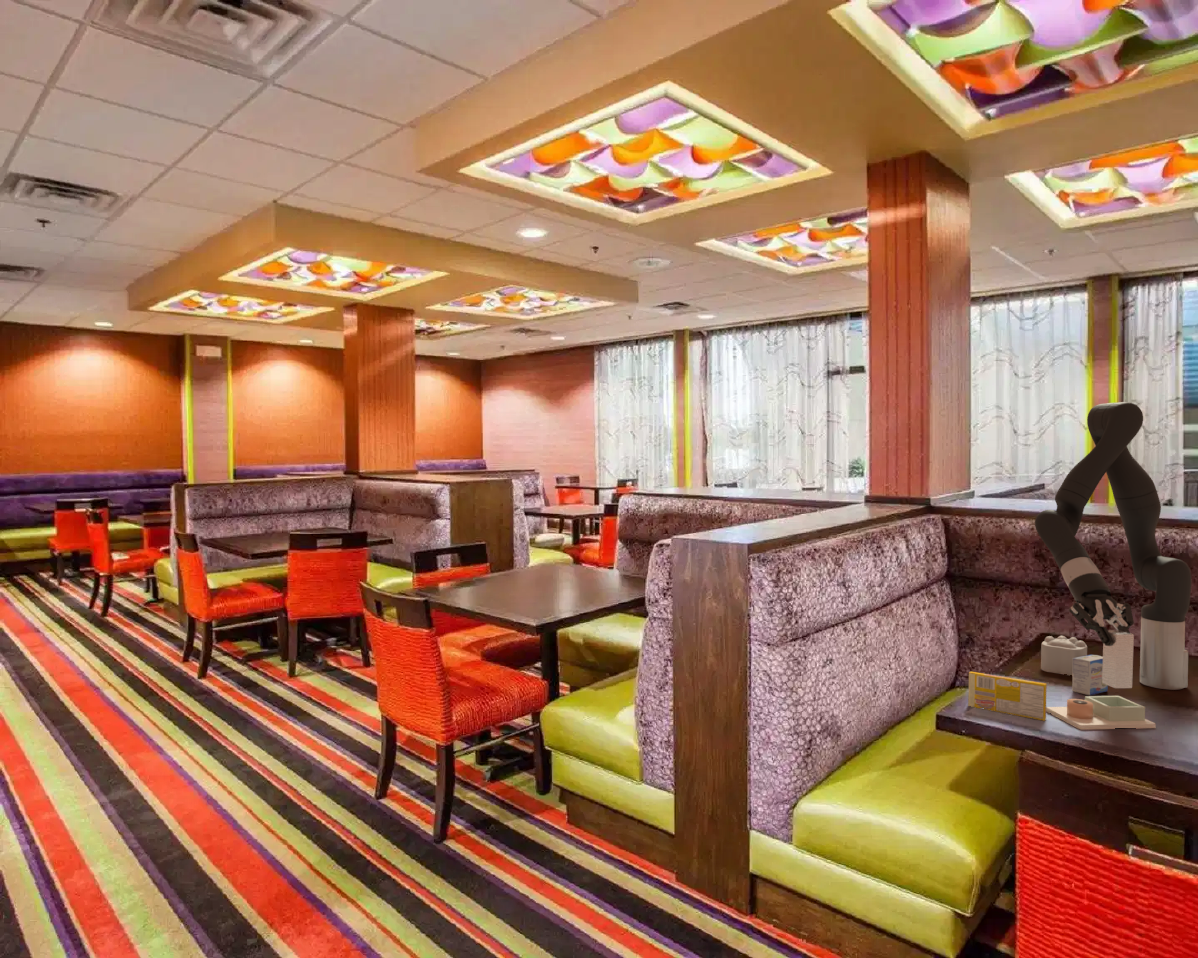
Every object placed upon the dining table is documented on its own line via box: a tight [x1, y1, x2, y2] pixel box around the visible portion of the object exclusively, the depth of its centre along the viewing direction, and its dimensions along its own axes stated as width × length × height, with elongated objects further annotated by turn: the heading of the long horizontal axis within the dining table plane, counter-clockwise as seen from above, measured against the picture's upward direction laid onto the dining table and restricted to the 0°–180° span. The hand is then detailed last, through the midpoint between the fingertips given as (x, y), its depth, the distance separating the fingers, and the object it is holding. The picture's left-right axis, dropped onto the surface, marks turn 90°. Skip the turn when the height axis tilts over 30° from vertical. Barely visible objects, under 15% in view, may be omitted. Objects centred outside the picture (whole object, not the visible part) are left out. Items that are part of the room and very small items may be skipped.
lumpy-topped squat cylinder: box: [1040, 635, 1088, 676], centre depth 216 cm, size 10×13×9 cm
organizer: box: [1046, 695, 1157, 731], centre depth 175 cm, size 17×12×4 cm
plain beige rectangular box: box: [1102, 629, 1135, 689], centre depth 174 cm, size 4×4×12 cm
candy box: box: [967, 671, 1048, 722], centre depth 180 cm, size 16×2×8 cm, turn 50°
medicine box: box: [1071, 654, 1109, 696], centre depth 196 cm, size 8×4×9 cm, turn 117°
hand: (1119, 643), depth 174 cm, fingers closed on plain beige rectangular box, 4 cm apart
